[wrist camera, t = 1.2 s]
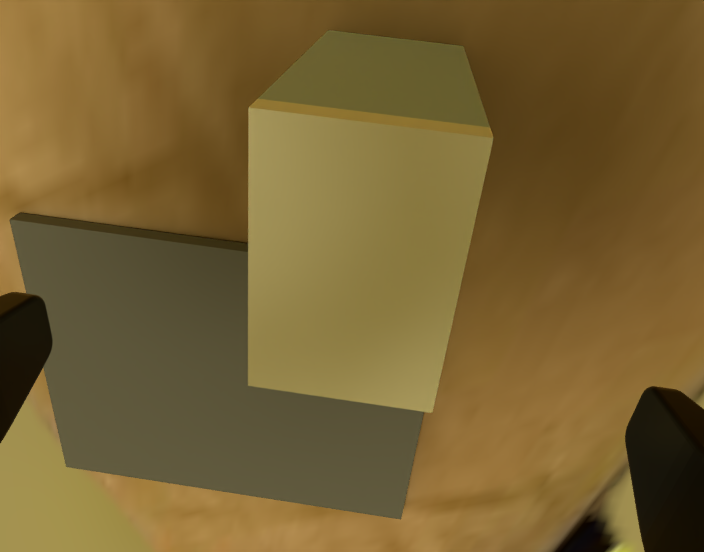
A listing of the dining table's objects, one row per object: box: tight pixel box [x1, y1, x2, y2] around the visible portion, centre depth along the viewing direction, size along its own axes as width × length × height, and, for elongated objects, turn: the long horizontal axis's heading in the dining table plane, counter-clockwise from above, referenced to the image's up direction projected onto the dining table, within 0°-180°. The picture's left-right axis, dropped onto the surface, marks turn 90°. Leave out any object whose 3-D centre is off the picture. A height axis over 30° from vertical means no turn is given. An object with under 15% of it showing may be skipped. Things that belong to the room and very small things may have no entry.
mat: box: [10, 213, 424, 519], centre depth 24 cm, size 16×13×1 cm
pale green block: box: [248, 30, 494, 413], centre depth 15 cm, size 4×6×9 cm, turn 175°
